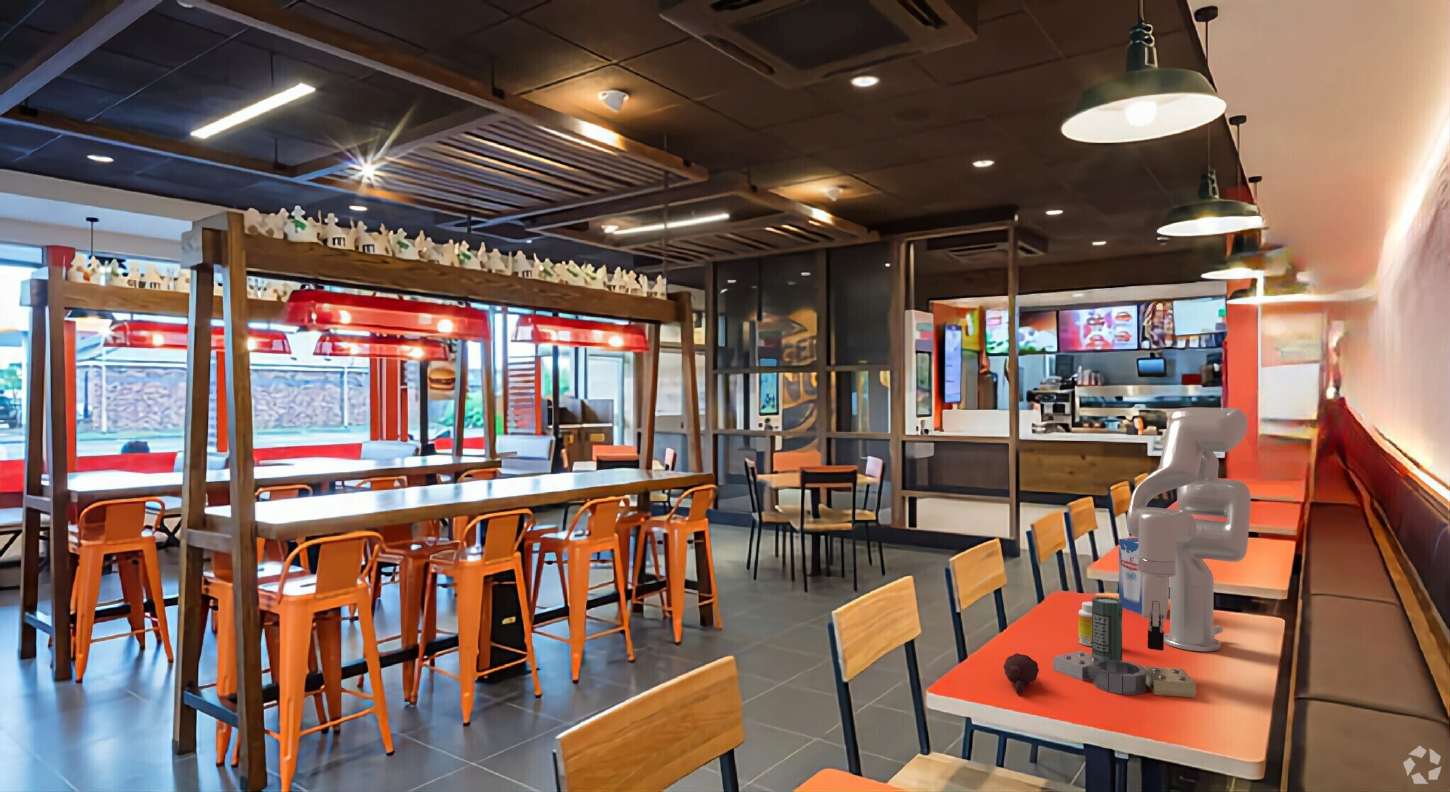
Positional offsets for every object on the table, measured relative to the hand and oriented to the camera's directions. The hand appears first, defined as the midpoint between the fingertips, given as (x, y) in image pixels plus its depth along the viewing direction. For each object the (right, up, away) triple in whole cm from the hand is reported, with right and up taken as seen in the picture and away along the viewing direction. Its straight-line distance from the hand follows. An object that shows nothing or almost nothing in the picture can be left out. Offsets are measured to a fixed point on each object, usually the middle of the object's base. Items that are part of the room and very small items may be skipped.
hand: (1155, 648), depth 187 cm
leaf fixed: (-13, -6, -3) cm, 15 cm away
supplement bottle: (-5, -6, +23) cm, 24 cm away
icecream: (-32, -6, -5) cm, 33 cm away
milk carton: (+23, -5, +54) cm, 59 cm away
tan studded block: (-2, -6, -9) cm, 11 cm away
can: (-7, -6, +8) cm, 12 cm away
